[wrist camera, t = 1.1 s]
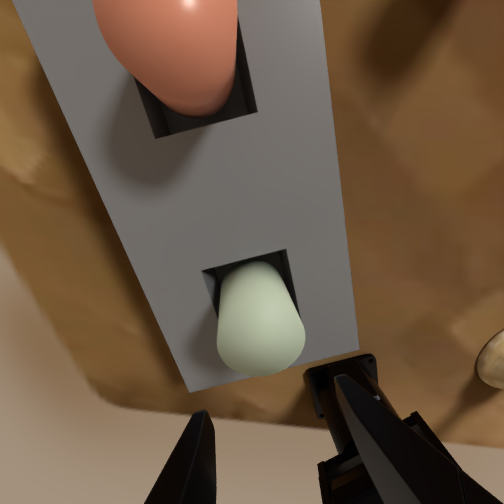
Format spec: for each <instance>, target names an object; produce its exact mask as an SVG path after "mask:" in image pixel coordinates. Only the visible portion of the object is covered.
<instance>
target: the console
mask: <svg viewBox="0 0 504 504" xmlns="http://www.w3.org/2000/svg"><path fill="white" fill-rule="evenodd" d="M12 1H13V3H14V5H15V8H16V10H17V12H18V14H19V17H20V19H21V21H22V23H23V25H24V28H25V30H26V32H27V34H28V36H29V39H30V41H31V43H32V45H33V47H34V50H35V52H36V54H37V56H38V59H39V61H40V63H41V65H42V67H43V70H44V72H45V74H46V76H47V78H48V81H49V83H50V85H51V87H52V90H53V92H54V94H55V96H56V98H57V101H58V103H59V105H60V107H61V109H62V112H63V114H64V116H65V118H66V121H67V123H68V125H69V127H70V129H71V132H72V134H73V136H74V138H75V140H76V143H77V145H78V147H79V149H80V152H81V154H82V156H83V158H84V160H85V163H86V165H87V167H88V169H89V171H90V174H91V176H92V178H93V180H94V182H95V185H96V187H97V189H98V191H99V194H100V196H101V198H102V200H103V202H104V205H105V207H106V209H107V211H108V213H109V216H110V218H111V220H112V222H113V225H114V227H115V229H116V231H117V233H118V236H119V238H120V240H121V242H122V244H123V247H124V249H125V251H126V253H127V256H128V258H129V260H130V262H131V264H132V267H133V269H134V271H135V273H136V275H137V278H138V280H139V282H140V284H141V287H142V289H143V291H144V293H145V295H146V298H147V300H148V302H149V304H150V306H151V309H152V311H153V313H154V315H155V317H156V320H157V322H158V324H159V326H160V329H161V331H162V333H163V335H164V337H165V340H166V342H167V344H168V346H169V348H170V351H171V353H172V355H173V357H174V360H175V362H176V364H177V366H178V368H179V371H180V373H181V375H182V377H183V379H184V382H185V384H186V386H187V388H188V391H189V393H191V392H195V391H199V390H203V389H207V388H211V387H215V386H219V385H223V384H227V383H231V382H234V381H238V380H242V379H246V378H250V377H254V376H248V375H244V374H241V373H238V372H236V371H234V370H233V369H231V368H230V367H228V366H227V365H226V364H225V363H224V362H223V360H222V359H221V357H220V355H219V353H218V349H217V332H218V319H219V307H220V294H221V284H222V281H223V278H224V276H225V275H226V273H227V272H228V271H229V270H230V269H231V268H232V267H233V266H235V265H236V264H238V263H240V262H243V261H248V260H259V261H263V262H266V263H268V264H270V265H272V266H273V267H274V268H276V270H277V271H278V272H279V273H280V275H281V277H282V280H283V282H284V284H285V286H286V288H287V291H288V293H289V295H290V297H291V300H292V302H293V304H294V306H295V308H296V311H297V313H298V315H299V317H300V319H301V322H302V324H303V326H304V330H305V344H304V347H303V350H302V352H301V354H300V355H299V357H298V358H297V359H296V360H295V362H293V363H292V364H291V365H290V366H289V367H293V366H297V365H301V364H305V363H309V362H313V361H317V360H321V359H325V358H328V357H332V356H336V355H340V354H344V353H348V352H352V351H356V350H359V341H358V332H357V323H356V315H355V306H354V297H353V288H352V279H351V271H350V262H349V253H348V244H347V236H346V227H345V218H344V209H343V200H342V192H341V183H340V174H339V165H338V157H337V148H336V139H335V130H334V121H333V113H332V104H331V95H330V86H329V78H328V69H327V60H326V51H325V43H324V34H323V25H322V16H321V7H320V0H237V11H238V17H237V39H236V62H235V81H234V87H233V90H232V93H231V95H230V98H229V99H228V101H227V103H226V104H225V105H224V106H223V108H221V109H220V110H219V111H218V112H217V113H215V114H213V115H212V116H209V117H206V118H202V119H191V118H186V117H183V116H180V115H178V114H177V113H175V112H173V111H172V110H171V109H169V108H168V107H167V106H166V105H165V104H164V103H163V102H162V101H160V100H159V99H158V98H157V97H156V96H155V95H154V94H153V93H152V92H151V91H150V90H148V89H147V88H146V87H145V86H144V85H143V84H142V83H141V82H140V81H139V80H138V79H136V78H135V77H134V76H133V75H132V74H131V73H130V72H129V71H128V70H127V69H126V68H125V67H124V66H122V64H121V63H120V62H119V61H118V60H117V58H116V57H115V56H114V54H113V53H112V52H111V50H110V49H109V47H108V45H107V43H106V42H105V40H104V38H103V36H102V33H101V31H100V29H99V26H98V23H97V20H96V16H95V12H94V7H93V1H92V0H12ZM289 367H287V368H289Z"/></svg>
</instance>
